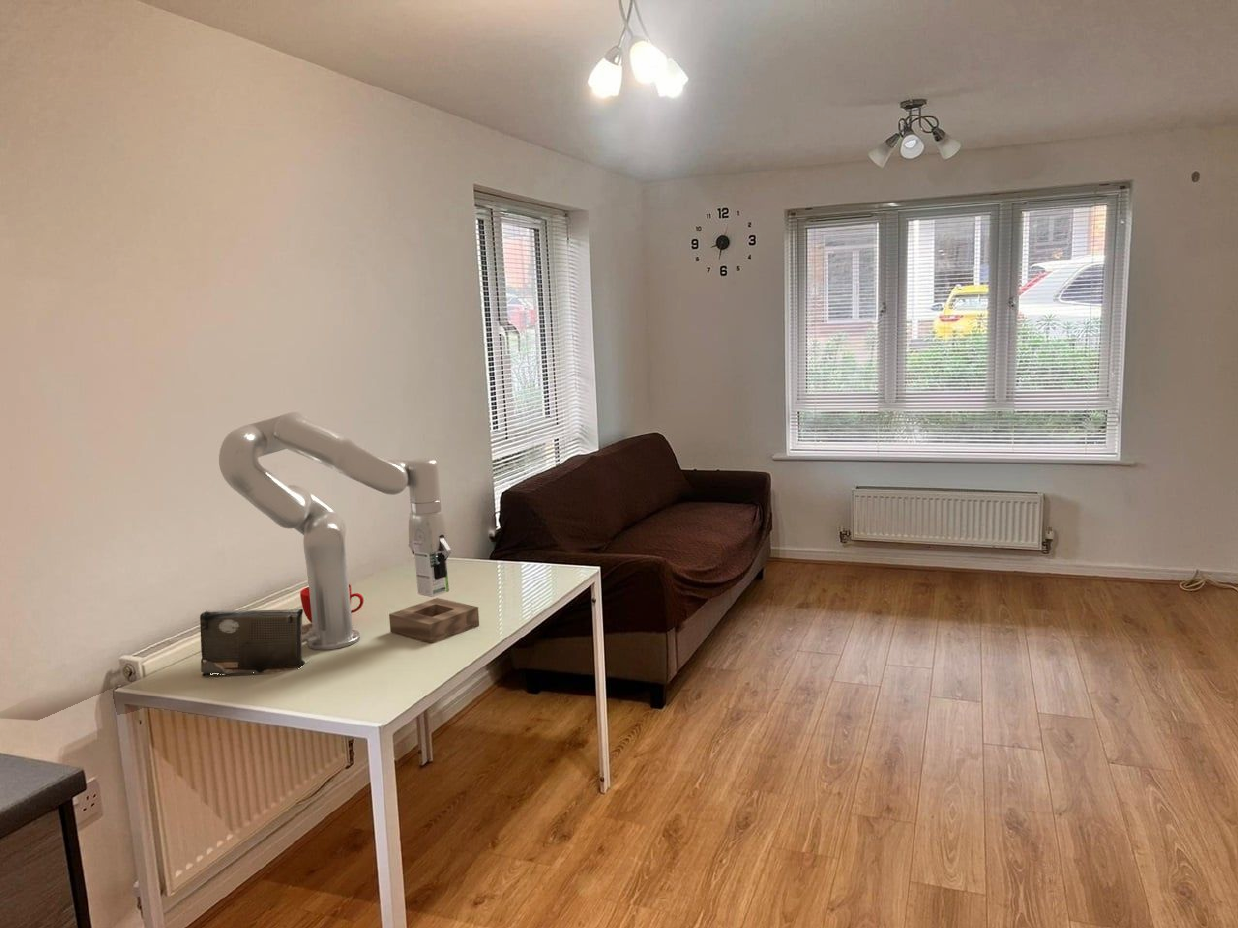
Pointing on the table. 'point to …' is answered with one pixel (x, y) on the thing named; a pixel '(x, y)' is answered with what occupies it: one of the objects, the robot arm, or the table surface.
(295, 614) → the radio
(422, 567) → the syrup box
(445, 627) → the socket block
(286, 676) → the table surface
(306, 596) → the ceramic cup
